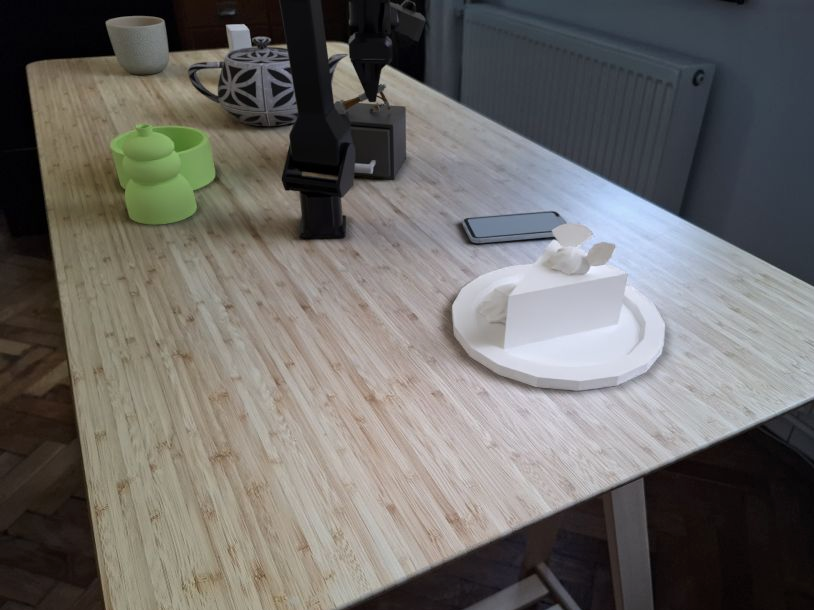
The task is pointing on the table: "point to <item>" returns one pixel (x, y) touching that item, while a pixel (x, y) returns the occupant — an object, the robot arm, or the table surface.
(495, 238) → the smartphone
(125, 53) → the planter
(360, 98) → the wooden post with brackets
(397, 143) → the cabinet
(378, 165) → the drawer
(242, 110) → the teapot
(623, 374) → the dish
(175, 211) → the food container
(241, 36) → the cosmetic box
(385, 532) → the table surface
